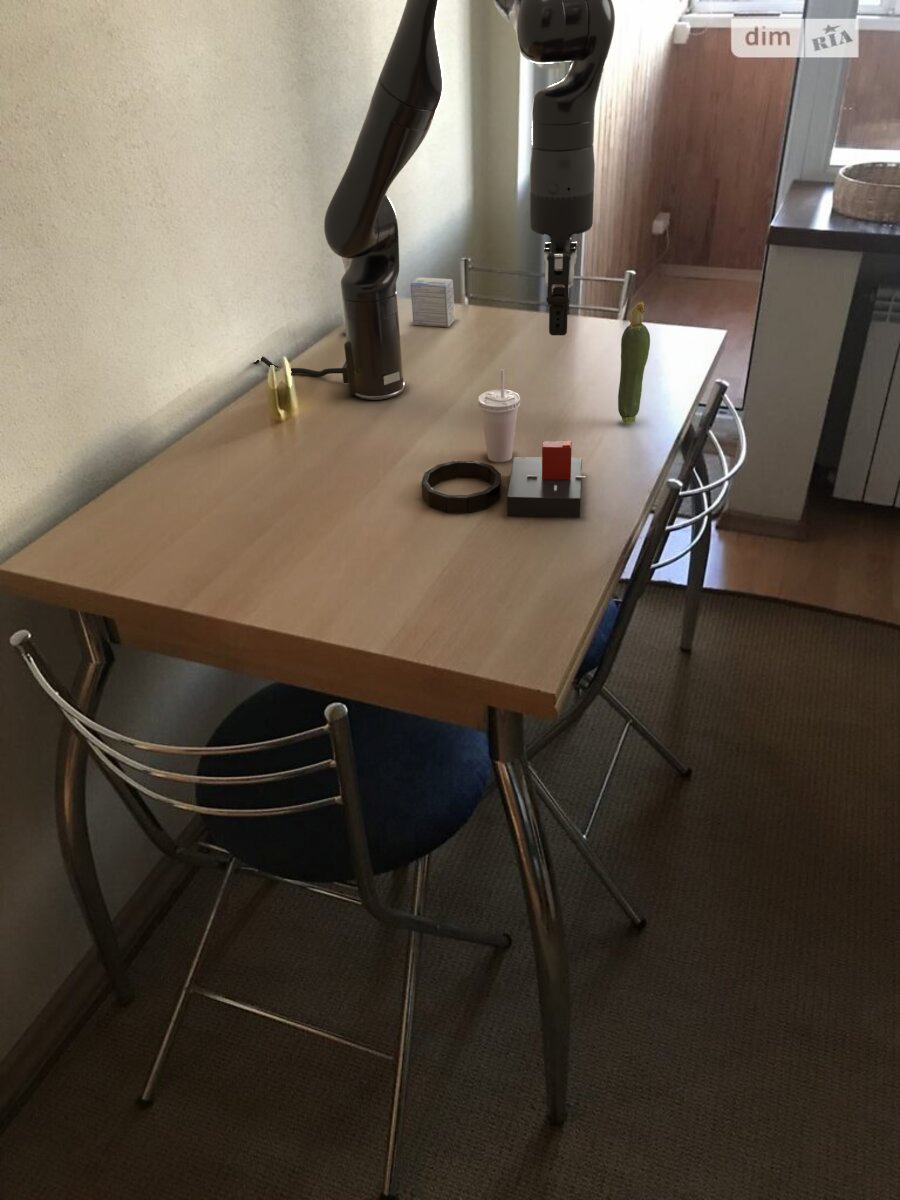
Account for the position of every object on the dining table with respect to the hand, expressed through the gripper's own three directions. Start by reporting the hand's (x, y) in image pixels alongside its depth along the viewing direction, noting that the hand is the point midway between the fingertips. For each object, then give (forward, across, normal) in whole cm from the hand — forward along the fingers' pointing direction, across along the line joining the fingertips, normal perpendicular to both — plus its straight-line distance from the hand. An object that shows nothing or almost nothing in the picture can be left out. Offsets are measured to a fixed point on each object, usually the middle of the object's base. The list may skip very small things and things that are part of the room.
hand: (559, 322), depth 121 cm
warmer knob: (+22, 0, 0) cm, 22 cm away
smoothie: (+25, +12, +9) cm, 29 cm away
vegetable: (+25, +25, -11) cm, 37 cm away
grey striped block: (+25, +72, +28) cm, 81 cm away
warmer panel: (+25, 0, +2) cm, 25 cm away
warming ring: (+25, 0, +14) cm, 29 cm away
